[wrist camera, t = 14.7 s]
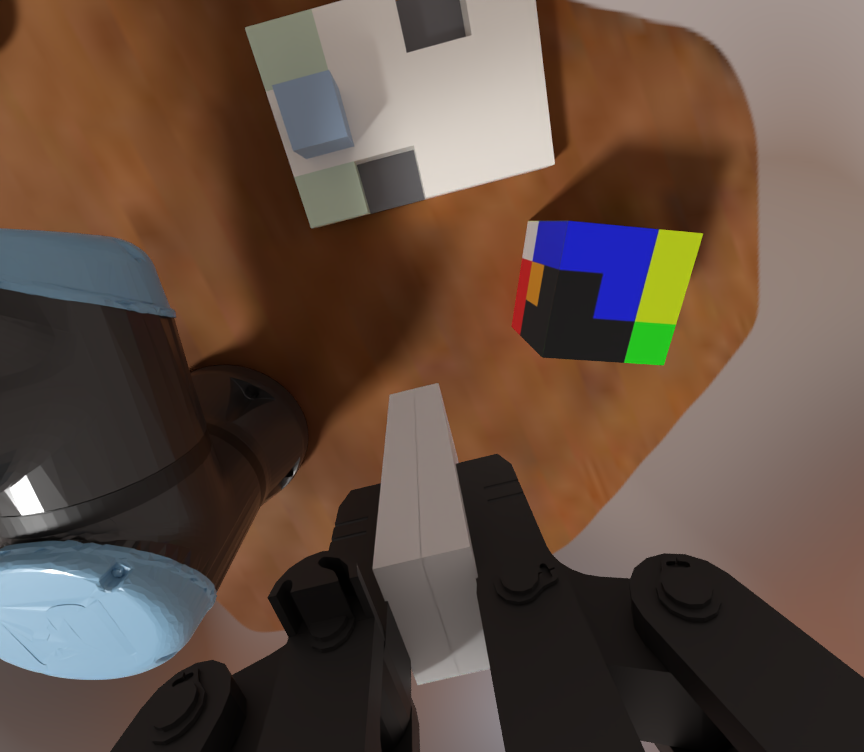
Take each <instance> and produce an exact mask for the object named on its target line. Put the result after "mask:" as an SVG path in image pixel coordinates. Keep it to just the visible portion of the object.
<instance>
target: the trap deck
mask: <svg viewBox="0 0 864 752" xmlns="http://www.w3.org/2000/svg"><path fill="white" fill-rule="evenodd" d="M245 30H246V33H247V36H248V39H249V42H250V45H251V48H252V51H253V54H254V57H255V60H256V63H257V66H258V69H259V72H260V76H261V79H262V82H263V85H264V88H265V91H266V94H267V97H268V100H269V103H270V106H271V109H272V112H273V115H274V118H275V121H276V124H277V127H278V130H279V133H280V136H281V139H282V142H283V145H284V148H285V151H286V154H287V157H288V160H289V163H290V166H291V169H292V172H293V175H294V178H295V181H296V184H297V187H298V190H299V193H300V196H301V200H302V203H303V206H304V209H305V212H306V215H307V218H308V221H309V224H310V227H311V228H319V227H322V226H326V225H330V224H334V223H338V222H341V221H345V220H349V219H353V218H357V217H360V216H364V215H368V214H372V213H376V212H380V211H383V210H387V209H391V208H395V207H399V206H402V205H406V204H410V203H414V202H418V201H422V200H425V199H429V198H433V197H437V196H441V195H444V194H448V193H452V192H456V191H460V190H464V189H467V188H471V187H475V186H479V185H483V184H486V183H490V182H494V181H498V180H502V179H505V178H509V177H513V176H517V175H521V174H525V173H528V172H532V171H536V170H540V169H544V168H547V167H549V166H552V165H554V164H555V161H554V152H553V144H552V135H551V127H550V118H549V110H548V101H547V93H546V84H545V76H544V67H543V59H542V50H541V42H540V33H539V25H538V16H537V8H536V0H398V1H395V0H341V1H338V2H334V3H331V4H327V5H323V6H320V7H316V8H313V9H309V10H306V11H302V12H298V13H295V14H291V15H288V16H284V17H281V18H277V19H273V20H270V21H266V22H263V23H259V24H256V25H252V26H248V27H245ZM326 70H330V72H331V74H332V76H333V78H334V80H335V82H336V84H337V86H338V88H339V92H340V95H341V99H342V102H343V106H344V110H345V113H346V117H347V121H348V124H349V128H350V132H351V135H352V139H353V143H354V146H353V147H350V148H346V149H342V150H338V151H335V152H331V153H327V154H323V155H320V156H316V157H312V158H308V159H305V158H304V157H302V156H300V155H299V154H297V153H296V152H294V151H293V149H292V146H291V143H290V140H289V137H288V134H287V131H286V128H285V125H284V121H283V118H282V115H281V112H280V109H279V106H278V103H277V100H276V97H275V94H274V90H273V87H272V85H275V84H279V83H282V82H286V81H290V80H293V79H297V78H301V77H304V76H308V75H312V74H315V73H319V72H323V71H326Z"/></svg>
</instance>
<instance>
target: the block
mask: <svg viewBox="0 0 864 752" xmlns="http://www.w3.org/2000/svg"><path fill="white" fill-rule="evenodd" d="M272 87H273V90H274V94H275V97H276V100H277V103H278V106H279V109H280V112H281V115H282V118H283V121H284V125H285V128H286V131H287V134H288V137H289V140H290V143H291V146H292V149H293V151H294V152H296V153H297V154H299V155H300V156H302V157H304V158H305V159H308V158H312V157H316V156H320V155H323V154H327V153H331V152H335V151H338V150H342V149H346V148H350V147H353V146H354V143H353V139H352V135H351V132H350V128H349V124H348V121H347V117H346V113H345V110H344V106H343V102H342V99H341V95H340V92H339V88H338V86H337V84H336V82H335V80H334V78H333V76H332V74H331V72H330V70H326V71H323V72H319V73H315V74H312V75H308V76H304V77H301V78H297V79H293V80H290V81H286V82H282V83H279V84H275V85H272Z"/></svg>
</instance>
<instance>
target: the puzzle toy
mask: <svg viewBox="0 0 864 752" xmlns="http://www.w3.org/2000/svg"><path fill="white" fill-rule="evenodd" d="M702 236H703V233H693V232H683V231H672V230H661V229H651V228H640V227H629V226H619V225H608V224H598V223H587V222H576V221H528V225H527V232H526V238H525V244H524V251H523V257H522V264H521V270H520V276H519V283H518V289H517V295H516V302H515V308H514V315H513V321H512V328H513V329H514V330H515V331H516V332H517V333H518V334H519V335H520V336H521V337H522V338H523V339H524V340H525V341H526V342H527V343H528V344H529V345H530V346H531V347H532V348H533V349H534V350H535V351H536V352H537V353H538V354H539V355H540V356H541V357H543V358H559V359H574V360H590V361H605V362H621V363H636V364H652V365H664V362H665V359H666V356H667V352H668V349H669V346H670V342H671V339H672V336H673V333H674V329H675V326H676V323H677V319H678V316H679V313H680V309H681V306H682V303H683V299H684V296H685V293H686V289H687V286H688V283H689V279H690V276H691V273H692V269H693V266H694V263H695V259H696V256H697V253H698V249H699V246H700V243H701V239H702Z"/></svg>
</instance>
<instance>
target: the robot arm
mask: <svg viewBox="0 0 864 752" xmlns="http://www.w3.org/2000/svg"><path fill="white" fill-rule="evenodd" d="M174 318H176V313H175V311H174V310H173V309H171V308H170V306H169V303H168V301H167V298H166V295H165V293H164V290H163V288H162V285H161V283H160V280H159V277H158V274H157V272H156V269H155V266H154V264H153V262H152V261H151V259H150V258H149V257H148V255H147V254H146V253H145V252H144V251H142V250H141V249H140V248H138V247H137V246H135V245H133V244H132V243H130V242H127V241H125V240H122V239H118V238H114V237H108V236H100V235H90V234H79V233H67V232H53V231H38V230H20V229H2V228H0V659H2V660H4V661H6V662H8V663H11V664H13V665H16V666H18V667H21V668H24V669H27V670H30V671H34V672H39V673H43V674H46V675H50V676H56V677H61V678H69V679H82V680H101V679H114V678H121V677H126V676H131V675H136V674H139V673H142V672H145V671H148V670H150V669H153V668H155V667H157V666H159V665H161V664H163V663H164V662H166V661H167V660H169V659H170V658H172V657H173V656H174V655H175V654H176V653H177V652H178V651H179V650H181V649H182V647H183V646H184V645H186V643H187V642H188V641H189V640H190V638H191V637H192V635H193V633H194V632H195V630H196V628H197V627H198V625H199V624H200V622H201V621H202V619H203V617H204V616H205V614H206V613H207V611H208V610H210V609H211V607H212V606H213V604H214V602H215V600H216V597H217V595H216V593H217V591H218V589H219V587H220V585H221V583H222V581H223V579H224V577H225V575H226V573H227V571H228V569H229V567H230V565H231V563H232V561H233V559H234V557H235V556H236V554H237V552H238V550H239V548H240V546H241V544H242V542H243V540H244V538H245V536H246V534H247V532H248V530H249V528H250V526H251V524H252V522H253V520H254V518H255V516H256V514H257V512H258V510H259V508H260V506H262V505H263V504H264V503H266V502H267V501H268V500H269V499H271V498H272V497H273V496H274V495H276V494H277V493H278V492H279V491H281V490H282V489H283V488H284V487H285V486H286V485H287V484H288V483H289V482H290V481H291V480H292V479H293V478H294V476H295V475H296V473H297V471H298V470H299V468H300V465H301V463H302V461H303V459H304V456H305V454H306V450H307V446H308V428H307V423H306V420H305V417H304V414H303V412H302V410H301V408H300V406H299V405H298V403H297V402H296V400H295V399H294V398H293V396H292V395H291V394H290V393H289V392H288V391H287V390H286V389H285V388H284V387H283V386H281V385H280V384H279V383H277V382H276V381H275V380H273V379H271V378H270V377H268V376H266V375H264V374H262V373H260V372H257V371H255V370H252V369H248V368H245V367H240V366H233V365H215V366H209V367H204V368H201V369H198V370H195V371H193V372H191V373H190V371H189V367H188V364H187V361H186V357H185V354H184V350H183V347H182V343H181V340H180V337H179V333H178V330H177V326H176V323H175V320H174ZM268 599H269V601H270V603H271V605H272V607H273V609H274V611H275V613H276V614H277V616H278V618H279V620H280V622H281V624H282V626H283V627H284V629H285V631H286V633H287V635H288V637H289V638H288V642H287V644H286V645H284V646H283V647H281V648H280V649H278V650H277V651H275V652H273V653H272V654H270V655H269V656H267V657H265V658H263V659H261V660H259V661H257V662H255V663H254V664H252V665H250V666H248V667H246V668H244V669H243V670H241V671H239V672H237V673H235V674H233V675H231V673H230V672H229V670H228V668H227V667H226V665H225V664H223V663H220V662H217V661H214V660H210V661H204V662H200V663H196V664H194V665H192V666H190V667H188V668H186V669H184V670H182V671H180V672H178V673H177V674H176V675H174V676H173V677H172V678H171V679H170V680H168V681H167V682H166V683H165V684H163V685H162V686H161V687H160V688H158V690H157V691H156V692H155V693H154V694H153V695H152V697H151V698H150V699H149V700H148V701H147V702H146V704H145V705H144V706H143V707H142V708H141V709H140V711H139V712H138V714H137V715H136V716H135V718H134V719H133V721H132V722H131V723H130V725H129V726H128V728H127V729H126V730H125V732H124V733H123V735H122V736H121V737H120V739H119V740H118V742H117V743H116V744H115V746H114V747H113V748H112V750H111V751H110V752H420V739H419V722H418V716H417V712H416V708H415V705H414V703H413V700H412V698H411V669H412V671H413V674H414V677H415V679H416V682H417V684H418V685H420V684H425V683H429V682H434V681H438V680H442V679H447V678H451V677H456V676H460V675H465V674H469V673H473V672H478V671H483V670H487V669H490V670H491V675H492V681H493V687H494V692H495V697H496V703H497V708H498V714H499V719H500V725H501V730H502V736H503V741H504V746H505V751H506V752H645V751H644V748H643V746H642V744H641V742H640V740H641V741H646V742H651V743H655V745H656V747H657V748H658V750H659V751H660V752H864V678H863V677H862V676H860V675H859V674H858V673H857V672H855V671H854V670H853V669H851V668H850V667H849V666H848V665H846V664H845V663H844V662H842V661H841V660H840V659H838V658H837V657H836V656H835V655H833V654H832V653H831V652H829V651H828V650H827V649H826V648H824V647H823V646H822V645H820V644H819V643H818V642H817V641H815V640H814V639H813V638H811V637H810V636H809V635H807V634H806V633H805V632H803V631H802V630H801V629H800V628H798V627H797V626H796V625H794V624H793V623H792V622H790V621H789V620H788V619H787V618H785V617H784V616H783V615H781V614H780V613H779V612H777V611H776V610H775V609H774V608H772V607H771V606H769V605H768V604H767V603H766V602H764V601H763V600H762V599H761V598H759V597H758V596H757V595H755V594H754V593H753V592H751V591H750V590H749V589H748V588H746V587H745V586H744V585H742V584H741V583H740V582H738V581H737V580H736V579H735V578H733V577H732V576H731V575H729V574H728V573H727V572H725V571H723V570H721V569H720V568H718V567H716V566H715V565H713V564H711V563H709V562H708V561H705V560H702V559H698V558H695V557H692V556H689V555H685V554H661V555H657V556H653V557H649V558H646V559H645V560H644V561H643V562H641V563H640V564H639V565H638V566H637V567H635V568H634V571H633V573H632V576H631V578H630V579H628V578H612V577H598V576H592V575H586V574H582V573H580V572H577V571H574V570H572V569H570V568H568V567H567V566H565V565H563V564H562V563H560V562H559V561H558V560H557V559H556V558H555V557H554V556H553V555H552V554H551V552H550V551H549V549H548V547H547V546H546V543H545V541H544V539H543V536H542V534H541V532H540V530H539V527H538V525H537V523H536V520H535V518H534V516H533V513H532V511H531V509H530V506H529V504H528V502H527V499H526V497H525V495H524V493H523V490H522V488H521V485H520V483H519V482H518V478H517V476H516V474H515V471H514V469H513V467H512V464H510V463H509V462H508V461H506V460H505V459H504V458H502V457H501V456H500V455H498V454H494V455H490V456H486V457H482V458H478V459H473V460H469V461H465V462H461V463H459V462H458V458H457V454H456V450H455V446H454V442H453V438H452V434H451V431H450V427H449V423H448V419H447V415H446V411H445V407H444V403H443V399H442V395H441V392H440V388H439V384H438V383H436V384H432V385H428V386H424V387H420V388H416V389H412V390H407V391H403V392H399V393H395V394H391V395H390V398H389V408H388V418H387V428H386V438H385V448H384V458H383V468H382V478H381V483H380V484H376V485H372V486H368V487H363V488H359V489H355V490H351V491H350V493H349V494H348V495H347V497H346V498H345V500H344V501H343V502H342V504H341V505H340V506H339V510H338V514H337V518H336V522H335V528H334V530H333V535H332V542H331V543H330V547H329V551H322V552H319V553H316V554H314V555H311V556H308V557H306V558H304V559H303V560H301V561H300V562H298V563H297V564H295V565H294V566H292V567H291V568H289V569H288V570H287V571H286V572H285V573H284V575H283V576H282V577H281V578H280V579H279V580H278V581H277V582H276V583H275V585H274V587H273V589H272V591H271V592H270V594H269V596H268Z"/></svg>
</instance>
